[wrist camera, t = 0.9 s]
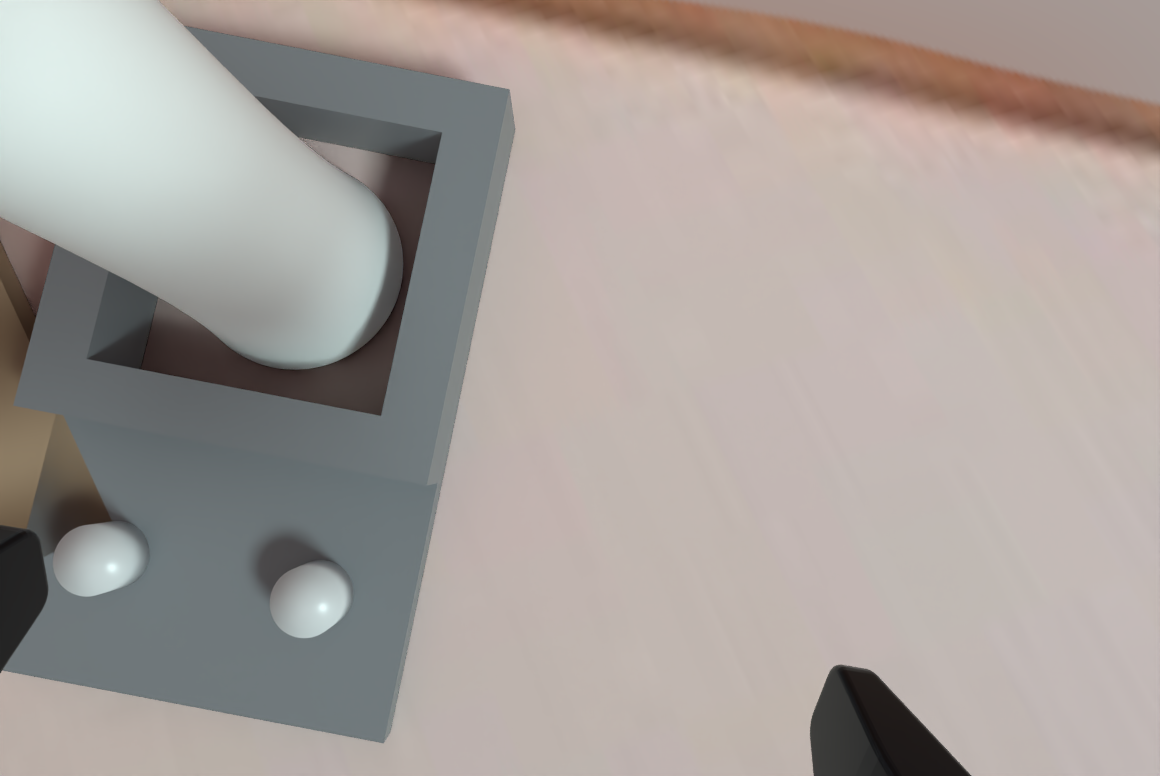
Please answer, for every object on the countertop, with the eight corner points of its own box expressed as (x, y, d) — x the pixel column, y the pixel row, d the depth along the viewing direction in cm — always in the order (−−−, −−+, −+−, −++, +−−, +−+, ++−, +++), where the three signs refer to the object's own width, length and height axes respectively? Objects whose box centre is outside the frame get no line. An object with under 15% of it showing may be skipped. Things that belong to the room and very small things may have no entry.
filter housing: (390, 732, 21) (367, 768, 19) (12, 660, 21) (-61, 687, 19) (515, 129, 23) (509, 89, 21) (163, 60, 23) (115, 12, 20)
